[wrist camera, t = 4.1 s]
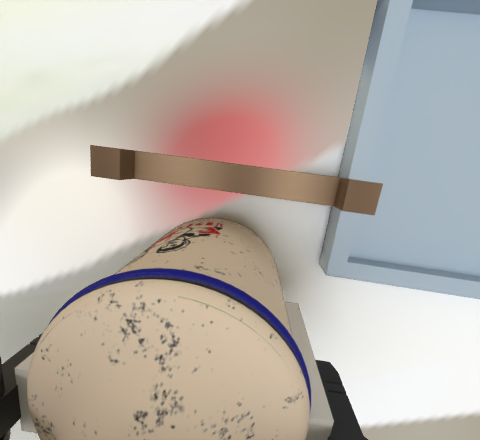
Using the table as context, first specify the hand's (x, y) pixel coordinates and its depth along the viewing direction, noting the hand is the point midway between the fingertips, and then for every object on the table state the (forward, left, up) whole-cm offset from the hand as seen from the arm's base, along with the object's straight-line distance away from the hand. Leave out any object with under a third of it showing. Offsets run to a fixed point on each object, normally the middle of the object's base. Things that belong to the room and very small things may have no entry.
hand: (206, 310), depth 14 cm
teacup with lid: (-1, 0, -2) cm, 2 cm away
